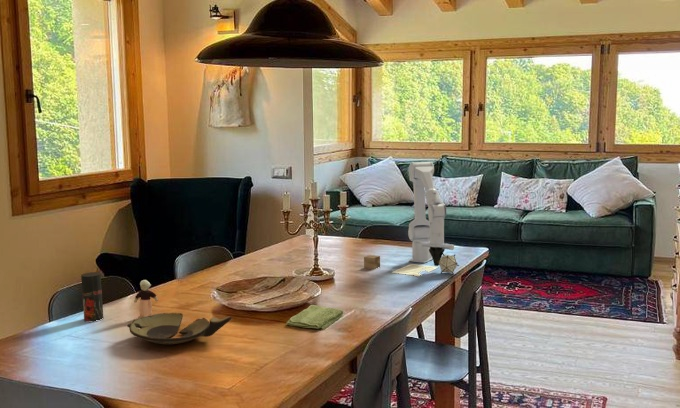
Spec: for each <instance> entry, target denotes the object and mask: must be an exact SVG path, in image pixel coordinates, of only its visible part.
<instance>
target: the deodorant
mask: <svg viewBox="0 0 680 408" xmlns="http://www.w3.org/2000/svg"><path fill="white" fill-rule="evenodd" d="M80 277H81V279H80V280H81V291H82V306H83V307H82V309H83V319H84V320H86V321H96V320H100V319H102V318H103V319H104V306H103V303H104V302H103V290H102V276H101V273H100V272H93V271H91V272H85V273H82V274H80ZM103 319H102V320H103ZM86 321H85V322H86ZM100 321H101V320H100ZM96 322H97V321H96Z"/></svg>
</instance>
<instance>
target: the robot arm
mask: <svg viewBox="0 0 680 408" xmlns="http://www.w3.org/2000/svg"><path fill="white" fill-rule="evenodd" d="M434 174H435V165H434V163H433V161H421V162H414V161H412V162H410V163H409V166H408V178H409V181H410V182H412V186H413V202H414V203H413V205H414V219H412V221H410V222H409V224H408V232H407V233H408V238H409V240H410V241H411V242H412V247H411V248H412V249H411V251H412V252H411V253H412V254H411V255H412V257H411V259H409V260H408V262H415V263H422V264H425V263H428V262H429V261H430V262H431V261H433V265H434V266H433V267H438V266H440V265H439V263H437V261H438V262H439V261H440V259H441V258H442V256H443V253H444V252H445V251H446V250H450V251H454V250H455V244H452V243H451V244H450V243H447V242H445V218H446V216H447V206H446V204H445V203H444V201H442V200H441V197H440V193H439V191H438V189H435V185H434V180H433V176H434ZM426 204H427V207H428V208H427V213H426ZM426 214H427V215H428V219H427V215H426Z"/></svg>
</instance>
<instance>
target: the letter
mask: <svg viewBox="0 0 680 408" xmlns="http://www.w3.org/2000/svg"><path fill="white" fill-rule="evenodd" d="M425 267H426V268H425ZM422 268H423V269H422ZM438 268H440V266H439V267H438V266H432V265H424V264H414V263H409V264H408V265H405V266H403V267H401V268H398V269H396V270H394V271H391V273H392V274H398V273H399V275H405V274H406V275H407V276H413V275H414V276H416V277H421V276H422V275H421V274H420V273H421V272H422V271H425V270H426V271H428V273H430V272H432V271H434V270H436V269H438ZM420 271H421V272H420ZM419 272H420V273H419ZM418 273H419V274H418ZM420 275H421V276H420Z"/></svg>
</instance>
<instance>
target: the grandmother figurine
mask: <svg viewBox="0 0 680 408" xmlns="http://www.w3.org/2000/svg"><path fill="white" fill-rule="evenodd" d="M139 285H140V286H139V287H140V289H141V290H139V292H137V293H136V295H135V297H134V300H133V303H135V304H136V303H137V302H138V301H139V315H138V317H137V319H138V318H139V319H140V318H143V317H147V316H151V315H153V314H152V313H153V312H152V311H153V309H152V306H153V305H152V299H154V301H155V302H158V301H159V299H158V296H157V294H156V293H155V292H153V291H152V290H149V289H150V287H151V283H150V282H149V281H148V280H147V279H143V280H141V281H140V282H139ZM151 298H152V299H151ZM139 299H140V300H139Z"/></svg>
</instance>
